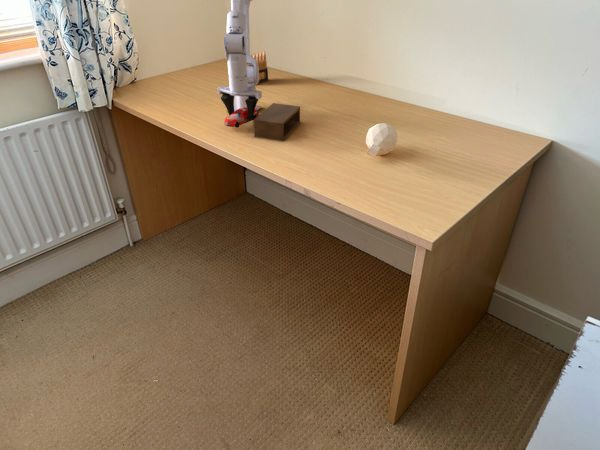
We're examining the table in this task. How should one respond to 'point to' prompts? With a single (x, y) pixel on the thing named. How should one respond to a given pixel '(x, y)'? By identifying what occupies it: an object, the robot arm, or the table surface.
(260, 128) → the shelf
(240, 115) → the race car
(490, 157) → the table surface
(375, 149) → the white faceted rounded lump
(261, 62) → the ammunition clip
